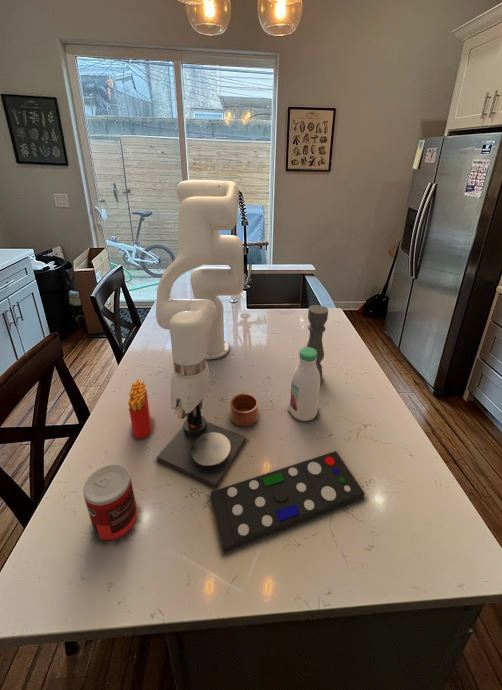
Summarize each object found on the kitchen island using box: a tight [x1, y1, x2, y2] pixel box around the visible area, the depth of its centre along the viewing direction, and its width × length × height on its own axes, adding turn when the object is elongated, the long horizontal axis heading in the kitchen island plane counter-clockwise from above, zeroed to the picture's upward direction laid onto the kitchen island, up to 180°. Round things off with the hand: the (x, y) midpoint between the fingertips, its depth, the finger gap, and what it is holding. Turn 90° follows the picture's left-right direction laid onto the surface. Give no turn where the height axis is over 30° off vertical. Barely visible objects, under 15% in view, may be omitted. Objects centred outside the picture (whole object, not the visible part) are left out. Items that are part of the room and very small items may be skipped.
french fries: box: [127, 378, 152, 439], centre depth 83 cm, size 9×4×13 cm, turn 18°
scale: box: [156, 415, 247, 489], centre depth 79 cm, size 16×14×3 cm
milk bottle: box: [289, 347, 321, 422], centre depth 89 cm, size 8×8×20 cm
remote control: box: [210, 450, 365, 553], centre depth 69 cm, size 11×30×2 cm, turn 111°
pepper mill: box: [306, 304, 329, 384], centre depth 101 cm, size 6×6×25 cm
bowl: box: [229, 392, 259, 427], centre depth 89 cm, size 7×7×5 cm
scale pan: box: [191, 432, 231, 467], centre depth 76 cm, size 9×9×1 cm
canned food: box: [82, 464, 138, 542], centre depth 62 cm, size 8×8×11 cm
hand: (194, 423), depth 84 cm, fingers closed
